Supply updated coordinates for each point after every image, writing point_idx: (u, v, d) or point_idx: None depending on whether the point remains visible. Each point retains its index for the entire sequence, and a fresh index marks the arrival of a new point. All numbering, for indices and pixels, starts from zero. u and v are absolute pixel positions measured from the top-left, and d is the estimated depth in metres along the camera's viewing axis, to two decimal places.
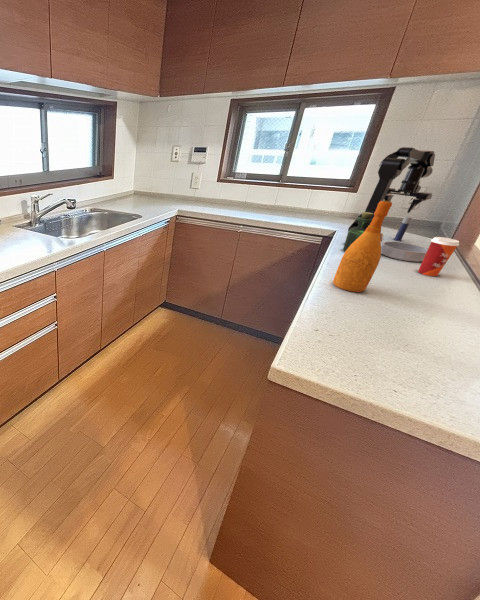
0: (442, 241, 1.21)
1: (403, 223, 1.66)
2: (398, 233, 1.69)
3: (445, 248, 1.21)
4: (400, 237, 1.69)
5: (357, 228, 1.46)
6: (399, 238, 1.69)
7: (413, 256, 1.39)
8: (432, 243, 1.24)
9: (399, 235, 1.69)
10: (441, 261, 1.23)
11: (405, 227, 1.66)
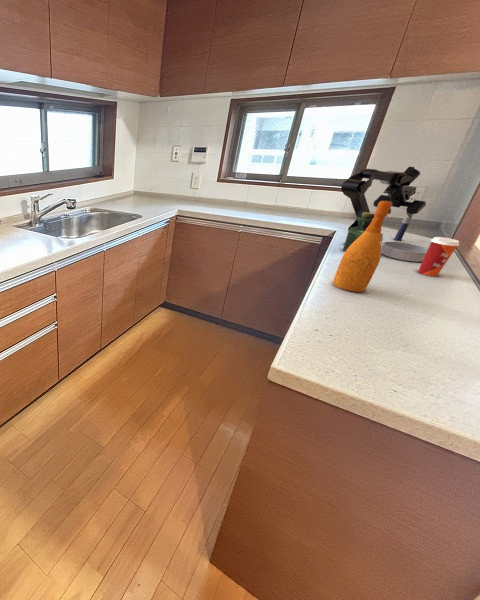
0: (442, 241, 1.21)
1: (403, 223, 1.66)
2: (398, 233, 1.69)
3: (445, 248, 1.21)
4: (400, 237, 1.69)
5: (357, 228, 1.46)
6: (399, 238, 1.69)
7: (413, 256, 1.39)
8: (432, 243, 1.24)
9: (399, 235, 1.69)
10: (441, 261, 1.23)
11: (405, 227, 1.66)
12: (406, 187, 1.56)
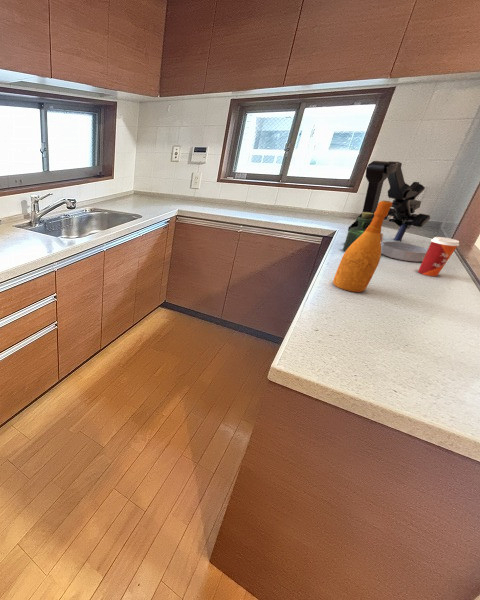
0: (442, 241, 1.21)
1: (403, 223, 1.66)
2: (398, 233, 1.69)
3: (445, 248, 1.21)
4: (400, 237, 1.69)
5: (357, 228, 1.46)
6: (399, 238, 1.69)
7: (413, 256, 1.39)
8: (432, 243, 1.24)
9: (399, 235, 1.69)
10: (441, 261, 1.23)
11: (405, 227, 1.66)
12: (411, 201, 1.62)
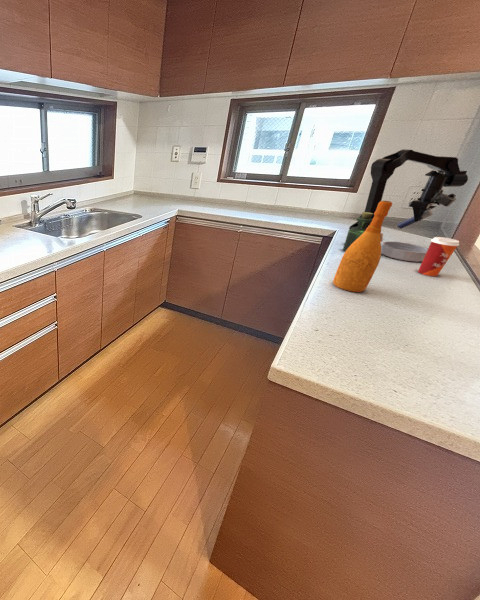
0: (442, 241, 1.21)
1: None
2: None
3: (445, 248, 1.21)
4: (401, 223, 1.58)
5: (357, 228, 1.46)
6: (400, 223, 1.58)
7: (413, 256, 1.39)
8: (432, 243, 1.24)
9: (403, 221, 1.57)
10: (441, 261, 1.23)
11: None
12: (451, 197, 1.43)
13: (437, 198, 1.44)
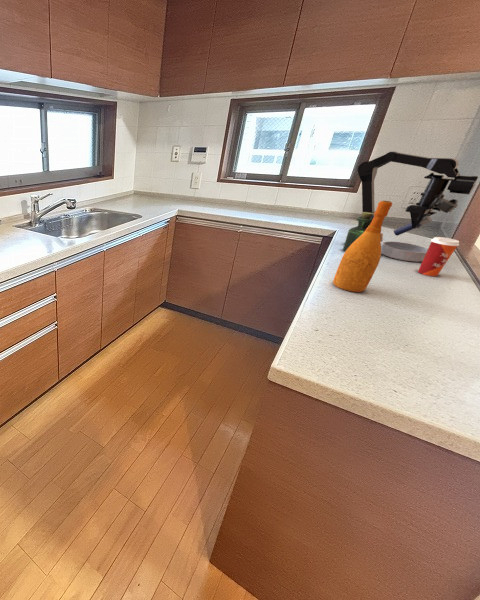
0: (442, 241, 1.21)
1: None
2: None
3: (445, 248, 1.21)
4: (398, 229, 1.46)
5: (357, 228, 1.46)
6: (396, 230, 1.47)
7: (413, 256, 1.39)
8: (432, 243, 1.24)
9: None
10: (441, 261, 1.23)
11: None
12: (453, 203, 1.31)
13: (437, 203, 1.33)
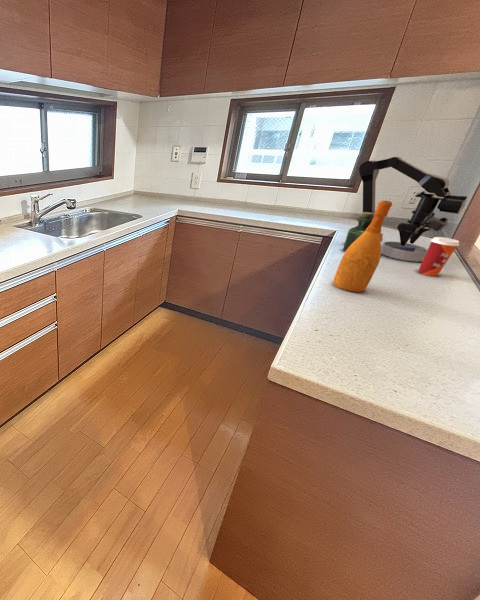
0: (442, 241, 1.21)
1: (415, 248, 1.42)
2: None
3: (445, 248, 1.21)
4: None
5: (357, 228, 1.46)
6: (392, 247, 1.48)
7: (413, 256, 1.39)
8: (432, 243, 1.24)
9: (397, 247, 1.47)
10: (441, 261, 1.23)
11: (408, 249, 1.43)
12: (443, 222, 1.34)
13: (427, 221, 1.35)
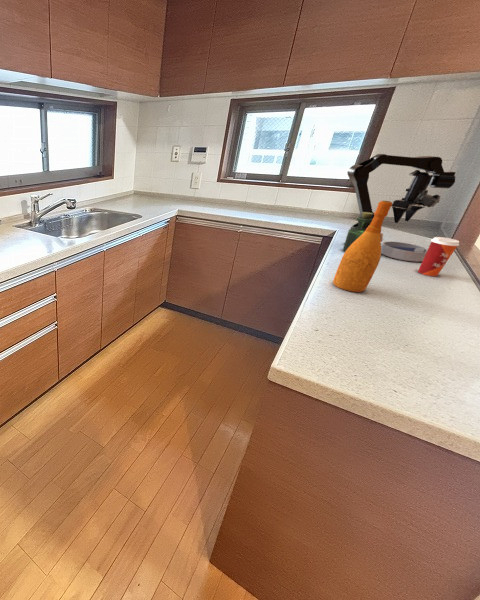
0: (442, 241, 1.21)
1: (415, 248, 1.42)
2: None
3: (445, 248, 1.21)
4: None
5: (357, 228, 1.46)
6: (392, 247, 1.48)
7: (413, 256, 1.39)
8: (432, 243, 1.24)
9: (397, 247, 1.47)
10: (441, 261, 1.23)
11: (408, 249, 1.43)
12: (435, 198, 1.40)
13: (420, 198, 1.42)
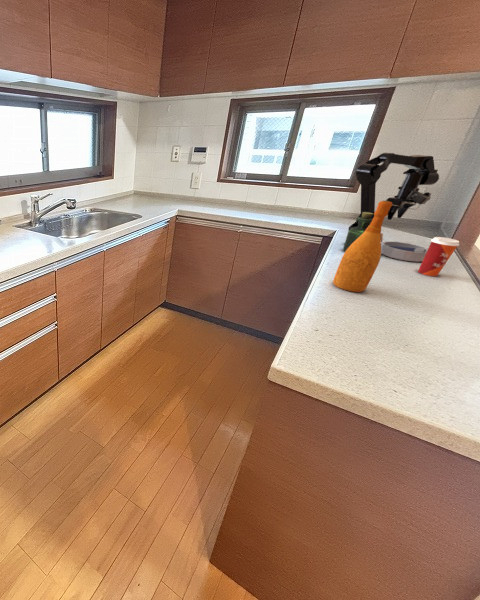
0: (442, 241, 1.21)
1: (415, 248, 1.42)
2: None
3: (445, 248, 1.21)
4: None
5: (357, 228, 1.46)
6: (392, 247, 1.48)
7: (413, 256, 1.39)
8: (432, 243, 1.24)
9: (397, 247, 1.47)
10: (441, 261, 1.23)
11: (408, 249, 1.43)
12: (426, 196, 1.46)
13: (412, 196, 1.47)
